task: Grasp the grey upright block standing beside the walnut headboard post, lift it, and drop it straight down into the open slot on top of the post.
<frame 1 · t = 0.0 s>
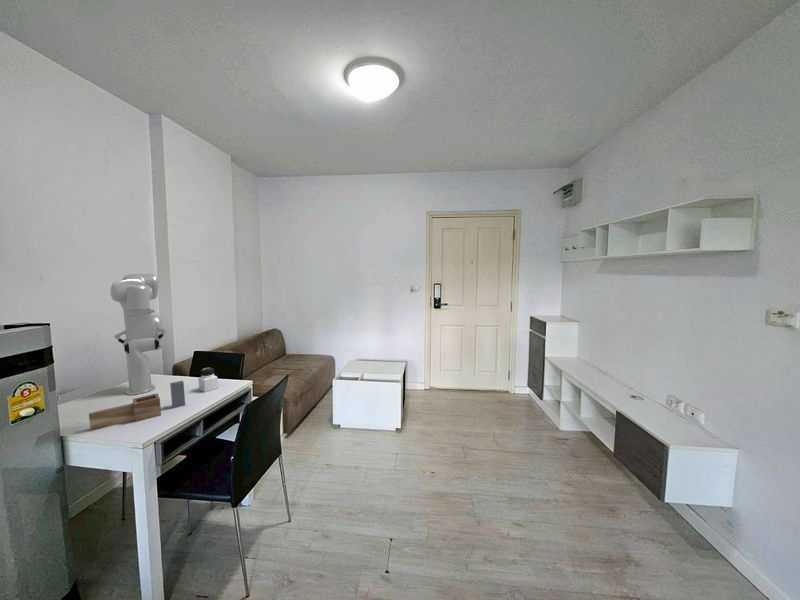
hand: (142, 350, 134), 31 cm above the table, tool pointing down, fingers open, 9 cm apart
medicine bottle: (208, 389, 171), on the table
grey upright block: (178, 405, 149), on the table
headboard: (147, 415, 139), on the table
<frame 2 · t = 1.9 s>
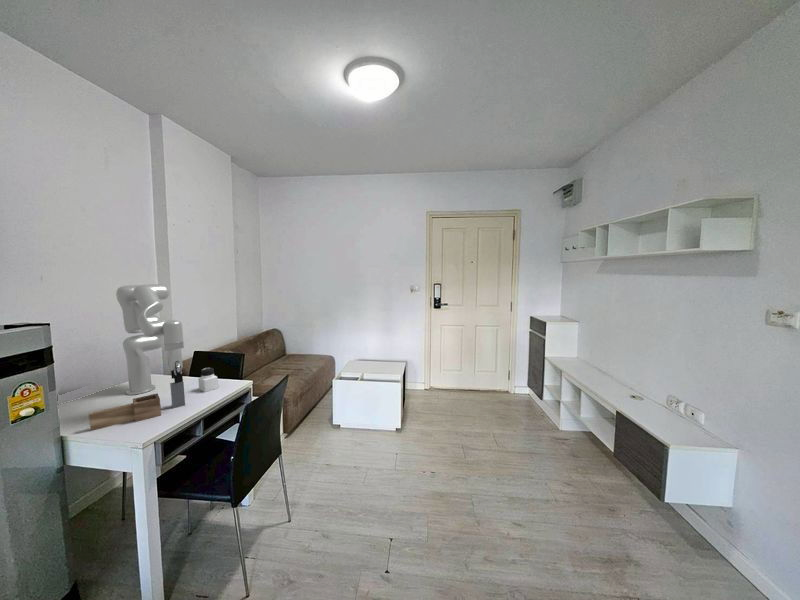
hand: (177, 380, 147), 13 cm above the table, tool pointing down, fingers open, 9 cm apart
nothing on the table moved.
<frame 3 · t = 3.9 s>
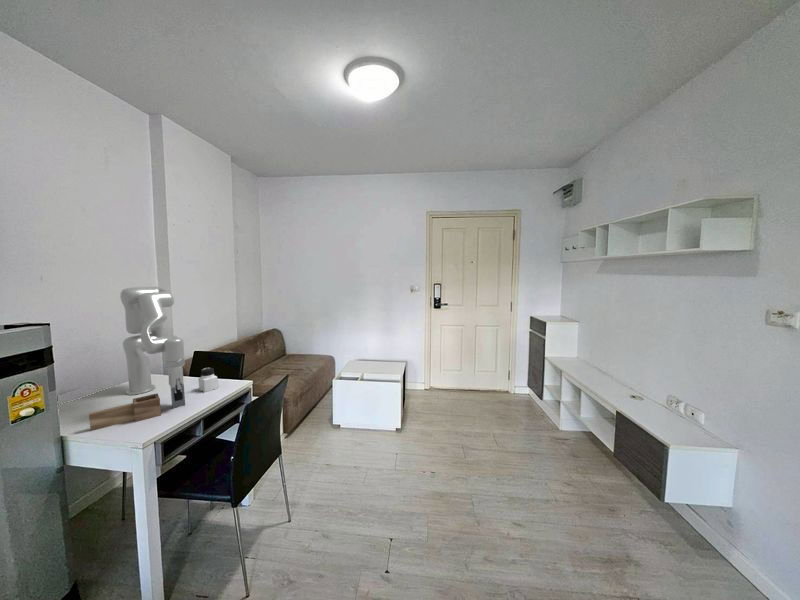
hand: (178, 398, 148), 4 cm above the table, tool pointing down, fingers closed on grey upright block, 3 cm apart
grey upright block: (178, 405, 149), on the table, touching gripper
everything else where it was.
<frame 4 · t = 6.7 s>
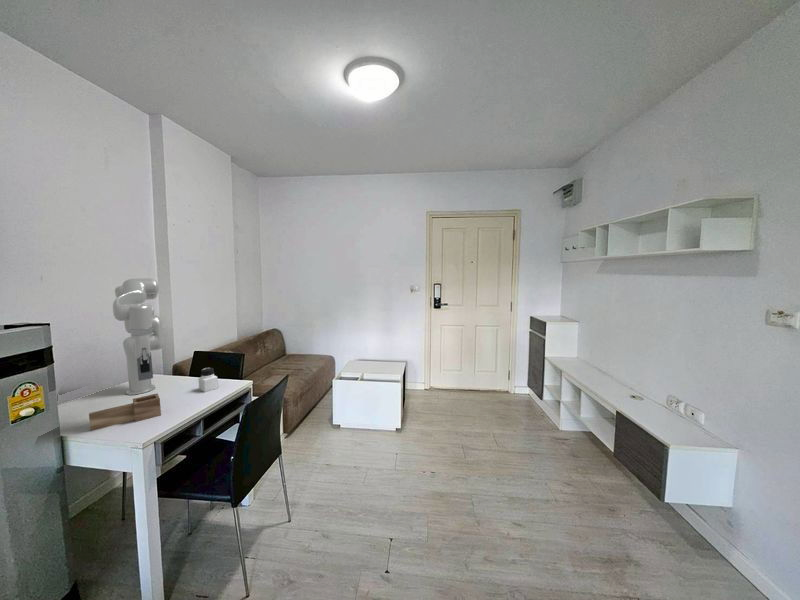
hand: (145, 370, 137), 21 cm above the table, tool pointing down, fingers closed on grey upright block, 3 cm apart
grey upright block: (145, 378, 138), point 17 cm above the table, touching gripper
everything else where it was.
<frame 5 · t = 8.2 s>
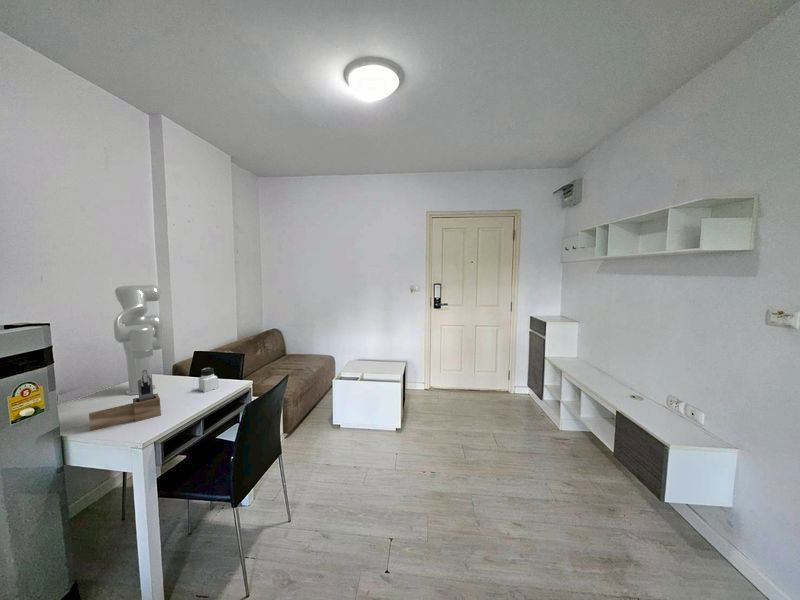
hand: (145, 392, 138), 11 cm above the table, tool pointing down, fingers closed on grey upright block, 3 cm apart
grey upright block: (146, 400, 138), point 7 cm above the table, touching gripper
everything else where it was.
when the fingers open (9 cm above the table, at t = 9.5 s): grey upright block drops 2 cm, resting on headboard.
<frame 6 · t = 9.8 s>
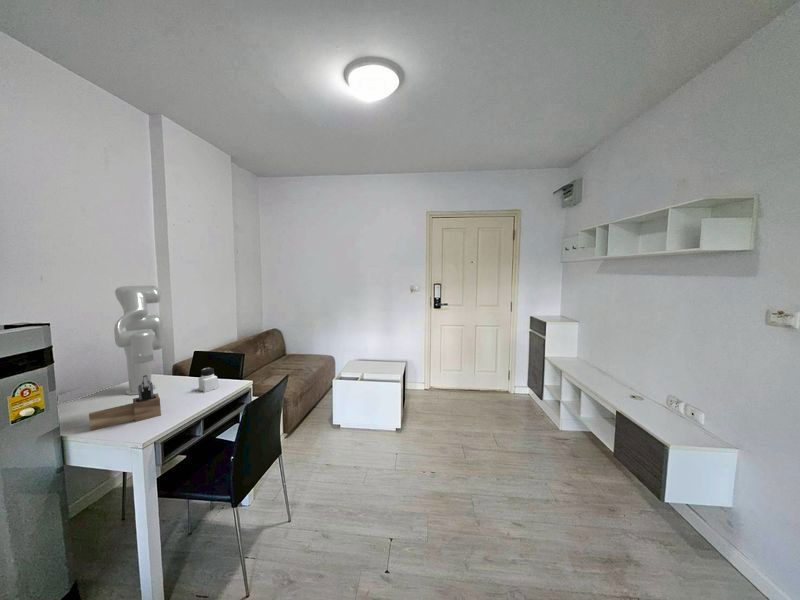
hand: (146, 396, 138), 9 cm above the table, tool pointing down, fingers open, 5 cm apart
grey upright block: (147, 409, 139), point 3 cm above the table, touching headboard
everything else where it was.
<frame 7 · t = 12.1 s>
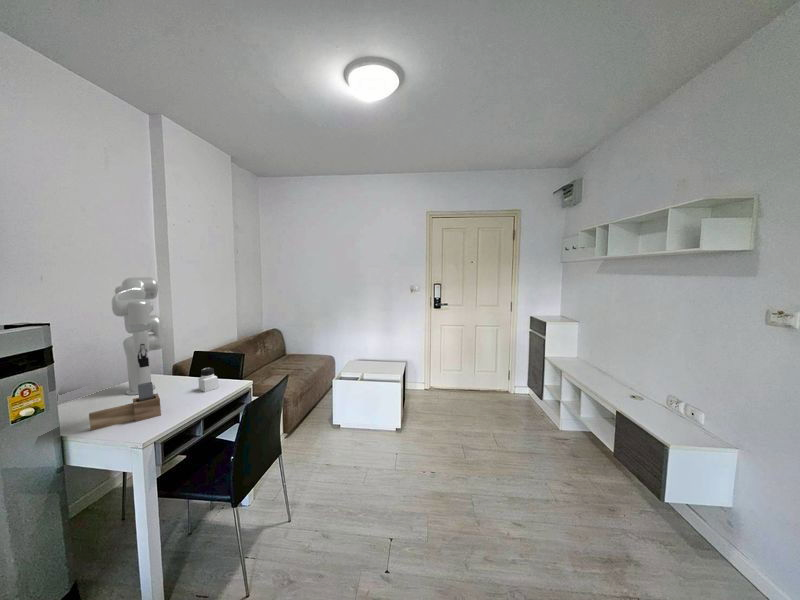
hand: (143, 364, 137), 24 cm above the table, tool pointing down, fingers open, 9 cm apart
nothing on the table moved.
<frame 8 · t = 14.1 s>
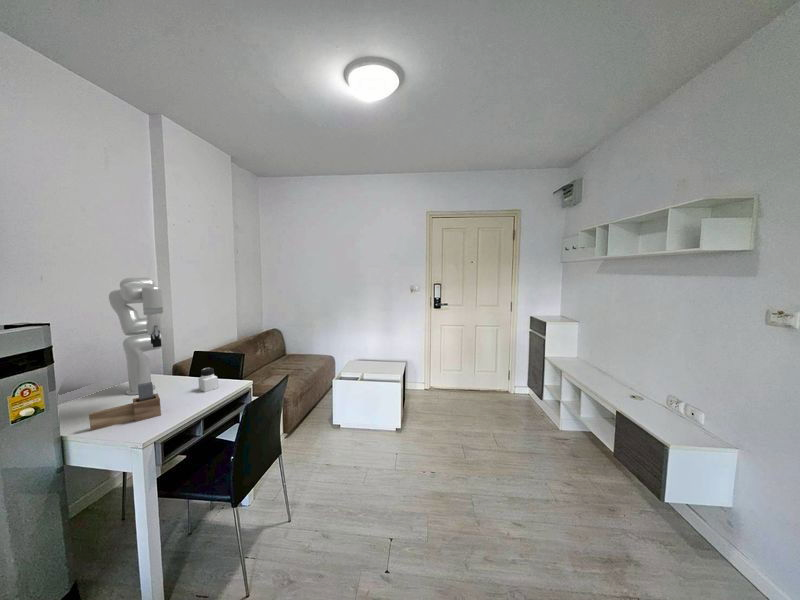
hand: (156, 345, 149), 30 cm above the table, tool pointing down, fingers open, 9 cm apart
nothing on the table moved.
at the end: grey upright block 0.1 cm off-centre on the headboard, point 3.0 cm above the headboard's base; grey upright block tilted 0°; the gripper is holding nothing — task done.
